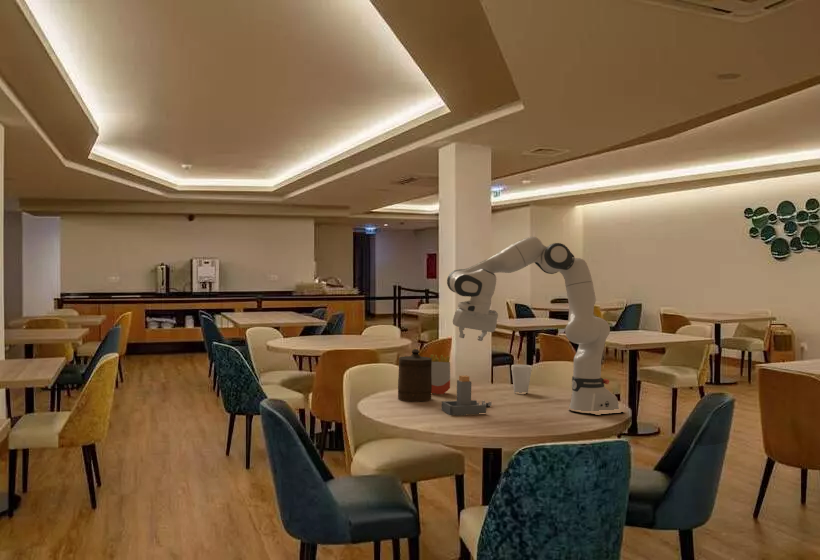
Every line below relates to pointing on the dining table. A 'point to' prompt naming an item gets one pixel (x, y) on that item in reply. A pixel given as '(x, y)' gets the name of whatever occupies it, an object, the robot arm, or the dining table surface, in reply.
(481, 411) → the tray
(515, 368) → the foam cup
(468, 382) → the grey corked bottle
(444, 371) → the french fries container
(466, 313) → the robot arm
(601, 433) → the dining table surface
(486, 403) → the clip
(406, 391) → the wooden container
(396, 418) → the dining table surface
